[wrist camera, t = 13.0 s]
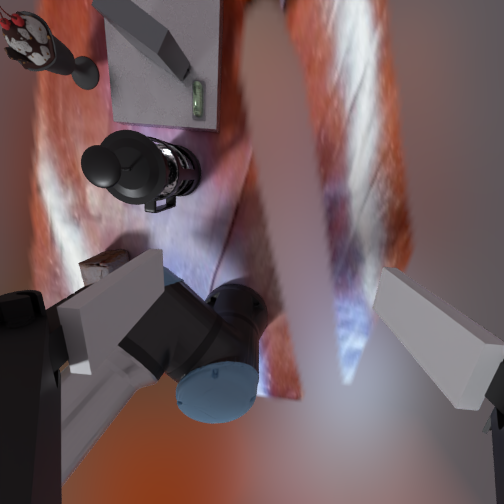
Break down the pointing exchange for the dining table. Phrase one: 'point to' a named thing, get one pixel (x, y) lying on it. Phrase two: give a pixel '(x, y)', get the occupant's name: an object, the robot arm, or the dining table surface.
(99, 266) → the food item
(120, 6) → the dark grey rectangular block
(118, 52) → the base
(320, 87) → the dining table surface
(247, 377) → the robot arm
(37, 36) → the sundae
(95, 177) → the french press
